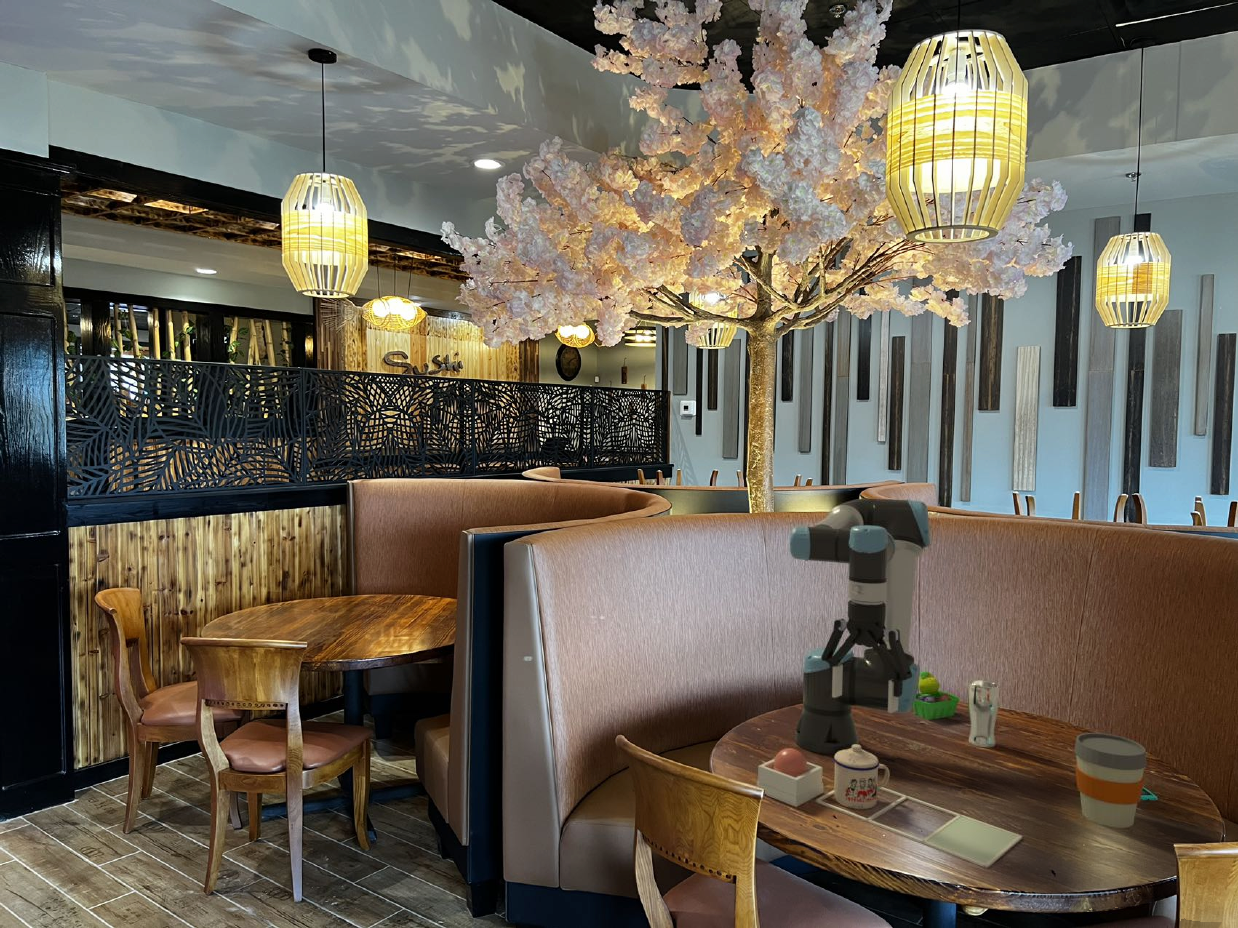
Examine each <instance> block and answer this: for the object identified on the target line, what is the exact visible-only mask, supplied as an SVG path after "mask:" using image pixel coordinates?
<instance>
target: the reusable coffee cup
mask: <svg viewBox="0 0 1238 928" xmlns="http://www.w3.org/2000/svg"><path fill="white" fill-rule="evenodd" d="M1075 739H1076V740H1075V745H1074V750H1073V751H1074V754H1075V756H1076V763H1075V765H1074V769H1075V778H1076V785H1077V786H1076V787H1077V790H1078V791H1079V793H1080V805H1081V813H1082V815H1083V816H1084V817H1085V818H1086V819H1088V820H1089V821H1091V822H1094V823H1096V822H1097V823H1096V824H1098V825H1103V826H1105V827H1109V828H1110V827H1111V828H1119V829H1120V828H1121V829H1122V828H1123V829H1124V828H1129V827H1131V826H1133V825H1134V822H1135V817H1136V812H1137V806H1138V803H1140V802H1141V801H1142V800H1141V795H1142V790H1143V787H1144V784H1145V776H1144V775H1143V774H1144V770H1145V768H1146V767H1147V763H1148V762H1147V753H1146V748H1145V746H1143V745H1142V744H1140V743H1139V742H1137V741H1135V740H1132V739H1129V738H1126V737H1124V736H1123V737H1122V736H1119V735H1114V734H1108V733H1101V732H1087V733H1081V734H1078V735H1077V736H1076V738H1075Z"/></svg>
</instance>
